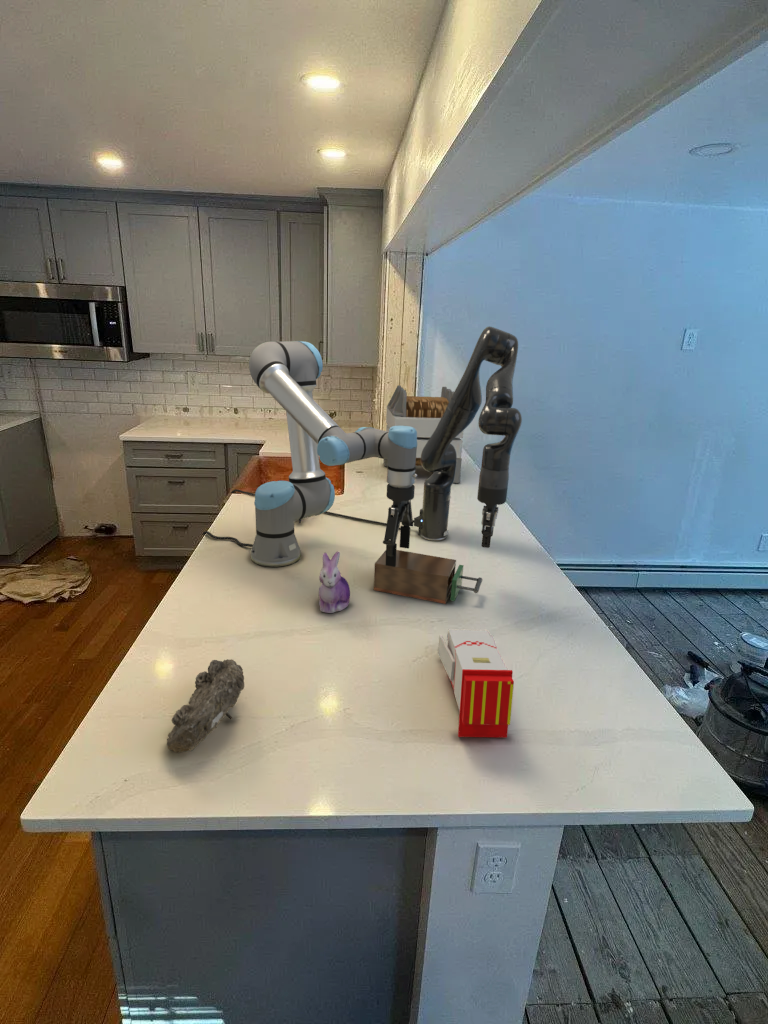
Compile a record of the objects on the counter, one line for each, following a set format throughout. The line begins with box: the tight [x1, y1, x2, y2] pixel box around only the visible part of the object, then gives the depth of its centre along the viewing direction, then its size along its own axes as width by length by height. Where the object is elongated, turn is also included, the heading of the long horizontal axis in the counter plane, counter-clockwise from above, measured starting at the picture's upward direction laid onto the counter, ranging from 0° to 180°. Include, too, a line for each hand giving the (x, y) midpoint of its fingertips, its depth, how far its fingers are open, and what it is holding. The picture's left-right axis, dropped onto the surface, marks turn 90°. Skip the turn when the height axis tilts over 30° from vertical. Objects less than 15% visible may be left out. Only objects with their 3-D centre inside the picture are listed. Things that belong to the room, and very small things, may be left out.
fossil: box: [166, 658, 245, 754], centre depth 106 cm, size 22×10×15 cm
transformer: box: [383, 384, 465, 484], centre depth 268 cm, size 34×33×41 cm
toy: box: [437, 628, 515, 738], centre depth 117 cm, size 12×13×30 cm
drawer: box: [447, 564, 483, 602], centre depth 159 cm, size 25×10×6 cm, turn 72°
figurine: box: [318, 551, 351, 614], centre depth 147 cm, size 9×10×15 cm
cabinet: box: [373, 549, 457, 605], centre depth 160 cm, size 21×11×8 cm, turn 72°
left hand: (397, 556), depth 160 cm, fingers open, 13 cm apart
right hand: (487, 541), depth 153 cm, fingers open, 8 cm apart
